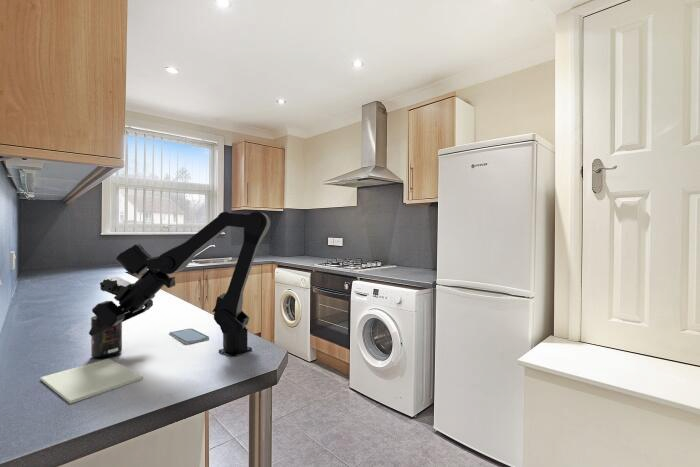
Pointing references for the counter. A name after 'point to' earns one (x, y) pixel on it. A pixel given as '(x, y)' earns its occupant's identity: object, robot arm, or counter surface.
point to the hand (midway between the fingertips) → (102, 329)
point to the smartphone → (189, 336)
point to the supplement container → (106, 342)
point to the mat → (90, 380)
